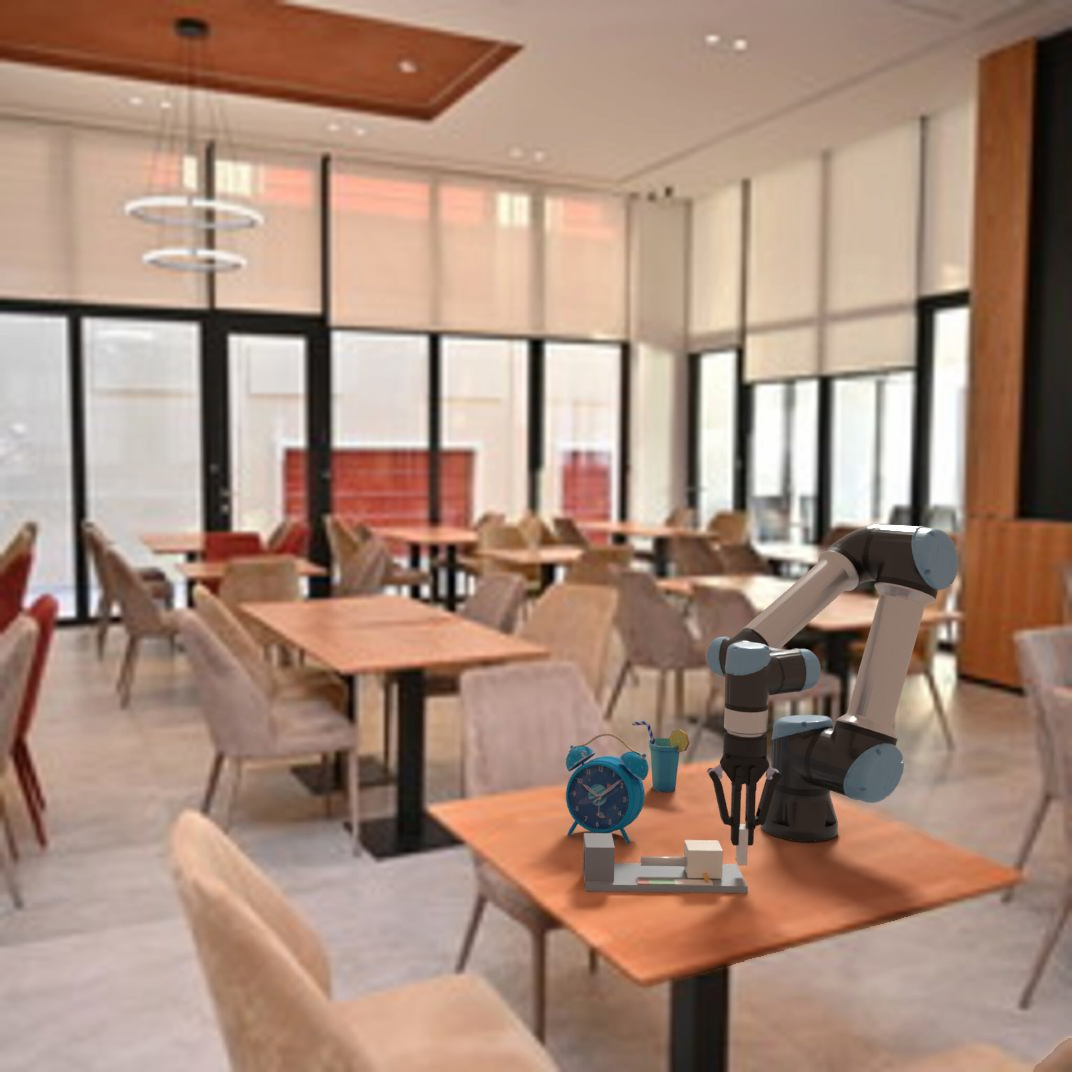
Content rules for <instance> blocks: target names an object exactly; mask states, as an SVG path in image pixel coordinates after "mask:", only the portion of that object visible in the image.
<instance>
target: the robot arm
mask: <svg viewBox="0 0 1072 1072" xmlns="http://www.w3.org/2000/svg"><path fill="white" fill-rule="evenodd" d="M958 569H959V555H958V552H957V549H956V547H955V543H954V541H953V540H952V538H951V537H950V536H949V534H948V533H946V532H945V531H943V530H941V529H938V528H932V527H931V528H930V527H927V526H924V525H919V526H917V525H916V526H914V525H913V526H912V525H899V524H898V525H897V524H887V523H875V524H868V525H865V526H862V527H860V528H859V527H858V528H857V529H855V530H853V531H851V532H849V533H847V534H845V535H844V536H842V537H841V538H839V539H838V540H837V541H835V542H833V543H832V544H831V545H829V547H827V548H826V549H825V550H824V551H822V553H820V554H819V556H818V558H817V563H816V564H815V565H814V566H813V567H811V568H810V569H809V570H808V571H807V572H806V573H805V574H804V575H803V576H801V577H800V578H799V579H797V581H796V582H795V583H793V584H792V585H791V586H790V587H788V589H786V591H784V592H783V593H782V594H781V595H780V596H779V597H777V598H776V599H775V600H774V601H773V602H772V603H770V604H769V605H768V606H767V607H766V608H765V609H763V610H762V611H761V612H760V613H759V614H758V615H756V616H755V617H754V618H753V619H752V620H751V621H750V622H749V623H747V625H745V626H744V627H743V628H742V629H741V630H740V631H738V632H737V633H736V634H735V635H734V636H732V637H731V636H728V635H727V636H718V637H716V638H714V639H713V640H712V641H711V642H710V643H709V645H708V647H707V650H706V656H705V657H706V664H707V667H709V670H710V671H711V672H713V673H714V674H715V675H718V676H721V677H724V679H725V680H724V717H723V728H724V729H725V731H724V732H723V740H722V741H723V747H722V756H721V758H720V760H719V764H718V765H716V766H714V767H713V768H712V767H709V768H708V769H707V770H706V771H707V774H708V776H709V777H710V780H712V783H713V787H714V792H715V793H714V794H715V796H716V797H715V798H716V802H717V806H718V807H717V808H718V811H719V812H718V813H719V815H720V817H719V818H720V819H721V821H722V823H723V824H724V825H725V826H726V825H727V826H730V841H731V844H732V846H735V861H736V864H737V866H748V852H749V851H748V850H749V849H748V847H749V846H753V845H754V842H755V839H754V837H755V830H756V827H758V826H761V829H762V830H763V831H764V832H766V833H767V834H769V835H770V836H773V837H775V838H779V839H782V840H789V841H795V842H805V843H817V842H824V841H829V840H831V839H834V838H835V837H837V835H838V832H839V820H838V817H837V815H836V811H835V807H834V804H833V800H832V797H831V792H834V793H836V794H839V795H842V796H845V797H847V798H848V799H850V800H854V801H860V802H864V803H869V804H874V803H879V802H881V801H884V800H885V799H886V798H887V797H889V796H890V795H891V794H892V793H893V792H894V791H895V790H896V788H897V787H898V786H899V783H900V781H901V779H902V777H903V774H904V768H905V767H904V766H905V763H904V761H903V760H904V756H903V754H902V752H901V750H900V749H899V748H898V747H897V743H898V738H899V737H898V736H897V734H896V732H895V731H894V727H893V726H894V721H895V718H896V714H897V710H898V707H899V703H900V699H901V696H902V691H903V688H904V685H905V682H906V678H907V673H908V670H909V666H910V663H911V658H912V655H913V652H914V651H913V650H914V647H915V644H916V640H917V636H918V634H919V630H920V626H921V623H922V620H923V619H922V618H923V615H924V612H925V608H927V607H928V606H930V605H932V604H934V603H935V602H936V599H937V595H938V592H939V591H943V590H946V589H948V588H949V587H950V586H951V585H952V584H953V583H954V581H956V577H957V575H958ZM874 581H875V583H874V588H875V589H876V591H877V593H878V595H879V597H878V601H877V603H876V608H875V612H874V616H873V619H872V623H871V625H870V630H869V632H868V637H867V640H866V643H865V647H864V650H863V654H862V658H861V662H860V665H859V667H858V668H859V669H858V673H857V677H856V680H855V684H854V687H853V690H852V694H851V697H850V701H849V705H848V708H847V712H846V713H845V714H843V715H841V716H839V717H838V718H836V721H835V724H834V723H833V722H834V721H833V720H832V718H831V717H829V716H827V715H821V714H819V715H818V714H800V715H799V714H798V715H797V714H796V715H787V716H783V717H779V718H778V719H776V720H775V722H774V723H773V726H772V727H773V728H772V737H771V766H770V763H769V760H768V757H767V756H768V755H767V754H768V751H767V750H768V735H767V734H766V733H767V732H768V729H769V728H768V727H769V726H768V724H769V723H768V722H769V719H768V717H769V702H770V701H769V700H770V699H769V698H770V696H775V695H781V694H790V693H800V692H801V693H802V691H806V690H809V689H813V688H814V687H815V686H816V685H818V683H819V681H820V678H821V667H822V666H821V663H820V660H819V658H818V657H817V655H816V654H814V652H813V651H811V650H810V649H806V648H792V649H784V648H782V647H784V645H786V644H787V643H788V642H789V641H790V640H792V638H794V636H796V635H797V634H798V633H799V632H800V631H801V630H802V629H804V628H805V627H806V626H807V625H808V624H809V623H811V621H812V620H814V619H815V617H817V616H818V615H819V614H820V613H821V612H822V611H823V610H825V609H826V608H827V607H828V606H829V605H831V603H832V602H834V601H835V600H836V599H837V598H838V597H839V596H841V594H843V592H851V591H853V590H854V589H856V588H857V587H858V586H859V585H860V584H862V583H863V584H864V583H866V582H874ZM723 772H724V773H725V775H726V777H727V778H728V779H729V780H730V784H731V797H730V798H731V799H730V815H729V811H728V807H727V802H726V797H725V792H724V787H723V784H722V781H721V780H722V779H723ZM764 775H765V778H766V779H765V782H764V784H763V788H762V791H761V795H760V798H759V802H758V806H757V809H756V799H757V798H756V795H757V790H758V789H757V788H758V787H757V784H758V783H759V781H760V780H761V779H762V778H763V776H764ZM743 785H745V787H746V788H745V811H744V821H745V823H741V807H742V806H741V805H742V799H741V798H742V791H743Z"/></svg>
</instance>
